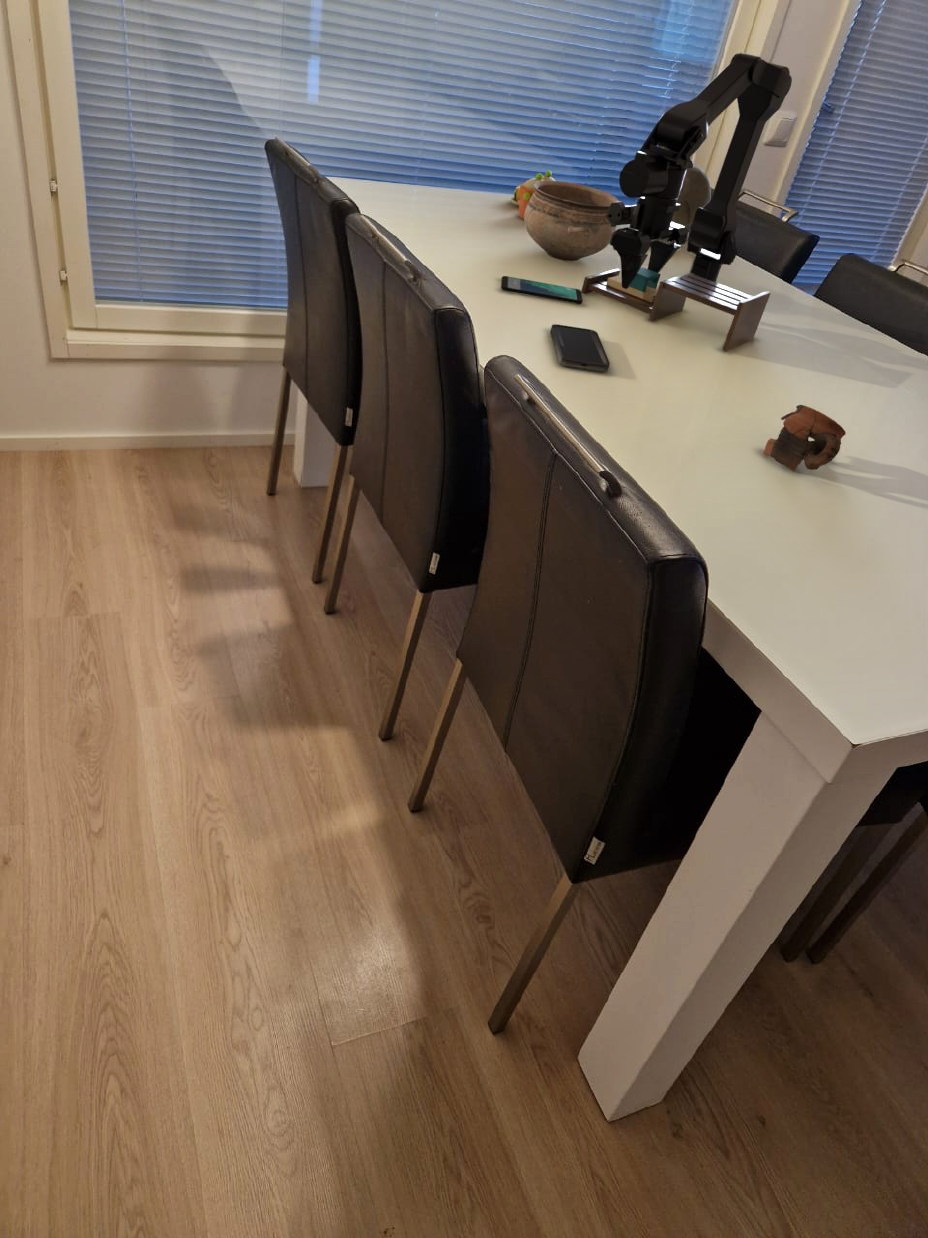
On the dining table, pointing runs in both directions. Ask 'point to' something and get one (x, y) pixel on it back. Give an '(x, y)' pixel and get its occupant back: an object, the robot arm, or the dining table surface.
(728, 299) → the shoe rack
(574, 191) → the cooking pot
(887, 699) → the dining table surface
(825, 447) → the pottery mug
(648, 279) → the wall mail holder
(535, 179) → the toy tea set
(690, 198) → the cantaloupe
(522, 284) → the smartphone
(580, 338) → the phone
